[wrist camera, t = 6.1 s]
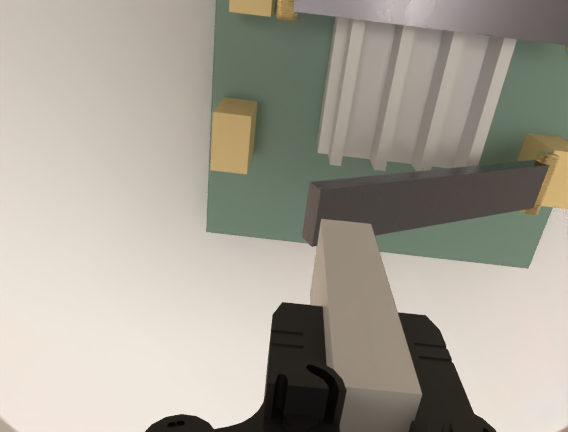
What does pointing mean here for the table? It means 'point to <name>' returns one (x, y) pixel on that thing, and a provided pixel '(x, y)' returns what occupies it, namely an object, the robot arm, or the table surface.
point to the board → (377, 121)
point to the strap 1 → (449, 15)
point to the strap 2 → (429, 196)
